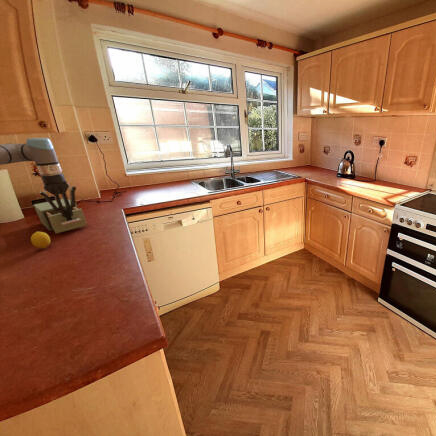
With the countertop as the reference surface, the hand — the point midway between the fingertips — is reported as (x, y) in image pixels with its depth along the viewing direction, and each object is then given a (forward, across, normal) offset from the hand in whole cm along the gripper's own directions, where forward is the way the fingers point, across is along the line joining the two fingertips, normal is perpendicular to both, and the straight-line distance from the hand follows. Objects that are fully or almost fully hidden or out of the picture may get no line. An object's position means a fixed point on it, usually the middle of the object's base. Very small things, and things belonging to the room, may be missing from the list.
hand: (70, 222), depth 118 cm
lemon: (+5, -13, -11) cm, 18 cm away
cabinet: (+5, 0, +21) cm, 22 cm away
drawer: (+4, 0, +8) cm, 9 cm away
